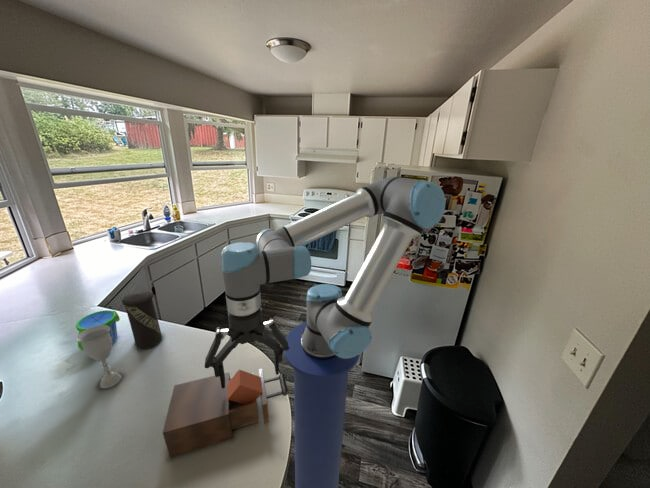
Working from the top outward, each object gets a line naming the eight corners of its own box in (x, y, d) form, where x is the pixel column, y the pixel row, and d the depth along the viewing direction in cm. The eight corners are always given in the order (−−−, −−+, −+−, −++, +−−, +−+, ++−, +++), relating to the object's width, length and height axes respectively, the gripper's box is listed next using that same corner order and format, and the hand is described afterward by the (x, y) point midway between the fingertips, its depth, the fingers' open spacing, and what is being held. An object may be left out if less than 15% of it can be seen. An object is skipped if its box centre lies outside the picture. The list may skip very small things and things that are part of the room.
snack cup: (99, 359, 83) (90, 335, 79) (68, 357, 83) (58, 333, 80) (134, 328, 98) (128, 306, 94) (108, 327, 98) (101, 305, 94)
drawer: (282, 380, 77) (282, 363, 75) (290, 415, 67) (290, 397, 65) (219, 397, 71) (216, 379, 69) (216, 438, 61) (213, 418, 59)
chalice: (88, 391, 72) (68, 341, 66) (107, 371, 79) (90, 324, 73) (114, 390, 73) (97, 341, 66) (131, 371, 79) (116, 325, 73)
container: (142, 353, 86) (128, 304, 79) (130, 343, 90) (115, 295, 84) (168, 338, 93) (157, 292, 86) (155, 329, 97) (144, 285, 90)
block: (260, 376, 70) (239, 369, 66) (262, 392, 65) (239, 385, 62) (249, 390, 70) (227, 383, 67) (250, 406, 65) (227, 399, 62)
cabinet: (232, 394, 73) (229, 372, 70) (232, 438, 62) (228, 414, 59) (179, 407, 69) (174, 384, 66) (169, 457, 58) (162, 433, 55)
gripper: (181, 328, 51) (196, 403, 58) (300, 308, 59) (300, 376, 66) (187, 307, 57) (200, 377, 65) (293, 292, 65) (294, 355, 73)
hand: (250, 377), depth 65 cm, fingers open, 13 cm apart
